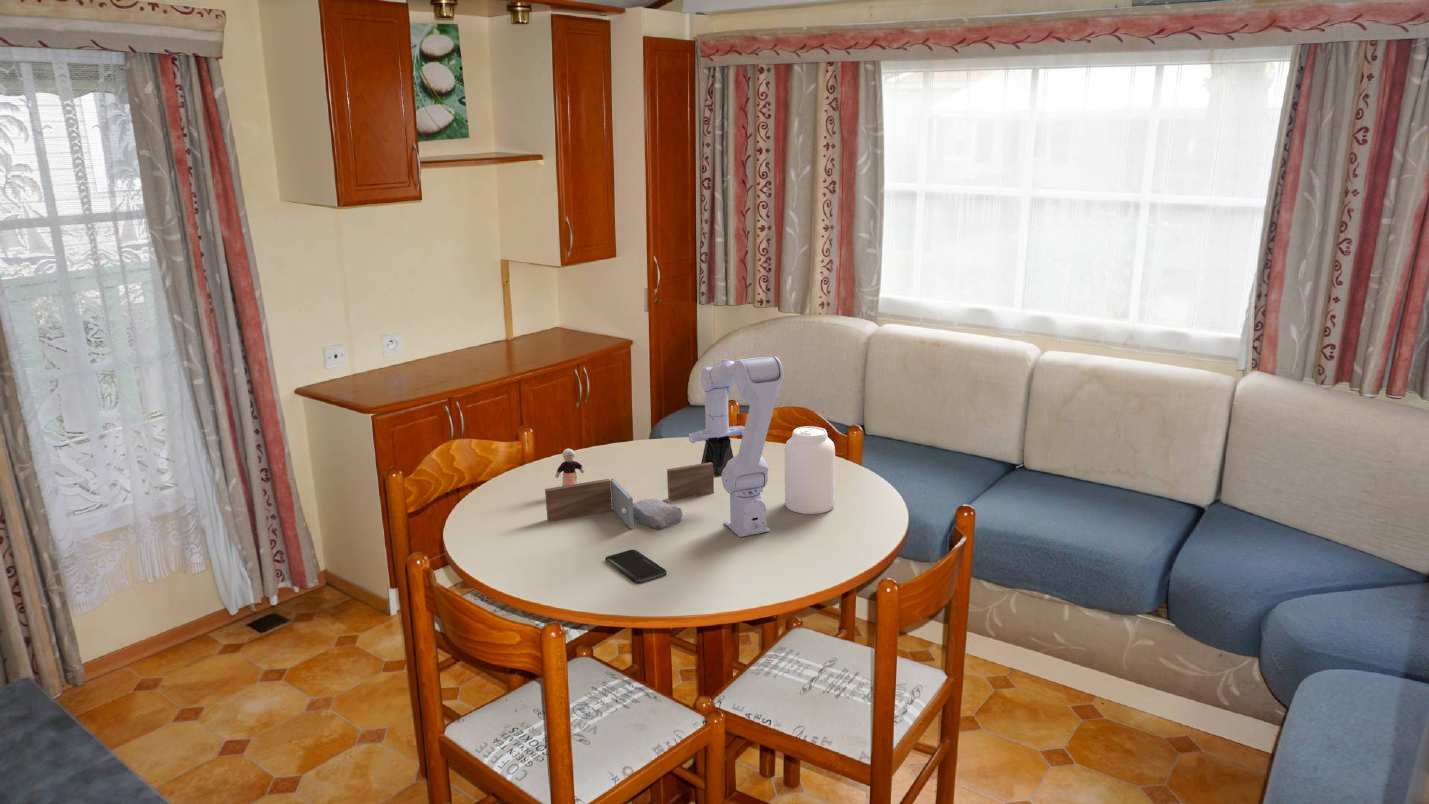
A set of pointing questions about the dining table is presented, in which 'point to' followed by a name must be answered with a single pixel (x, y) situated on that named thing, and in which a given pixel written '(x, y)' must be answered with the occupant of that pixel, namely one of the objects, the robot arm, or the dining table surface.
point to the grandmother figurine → (569, 468)
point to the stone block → (656, 513)
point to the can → (809, 471)
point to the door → (622, 503)
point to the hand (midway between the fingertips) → (718, 465)
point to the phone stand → (708, 458)
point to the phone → (635, 566)
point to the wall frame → (598, 493)
